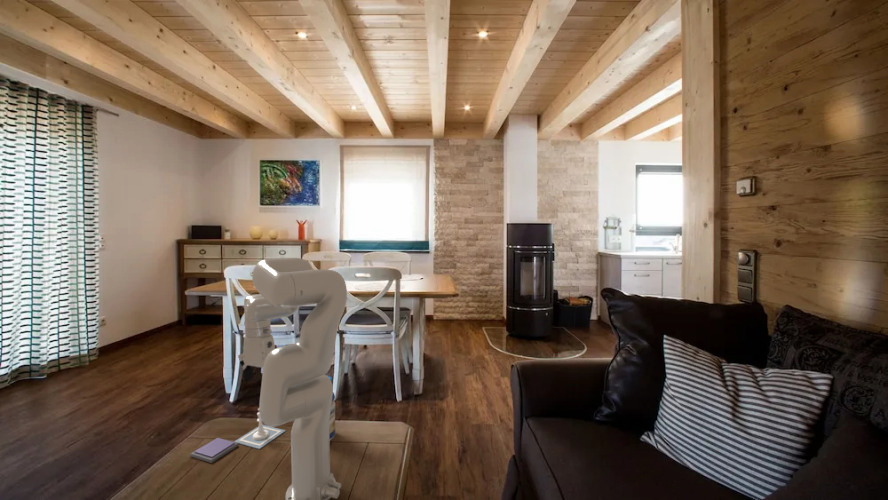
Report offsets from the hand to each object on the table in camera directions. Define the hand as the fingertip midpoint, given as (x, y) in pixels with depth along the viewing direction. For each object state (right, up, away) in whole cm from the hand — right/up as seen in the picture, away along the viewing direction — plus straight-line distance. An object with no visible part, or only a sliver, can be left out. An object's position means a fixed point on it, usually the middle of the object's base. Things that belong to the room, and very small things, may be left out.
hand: (259, 382), depth 118 cm
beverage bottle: (+21, -19, +1) cm, 28 cm away
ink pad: (-11, -19, -7) cm, 23 cm away
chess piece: (0, -19, +1) cm, 19 cm away
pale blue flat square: (0, -19, +1) cm, 19 cm away
